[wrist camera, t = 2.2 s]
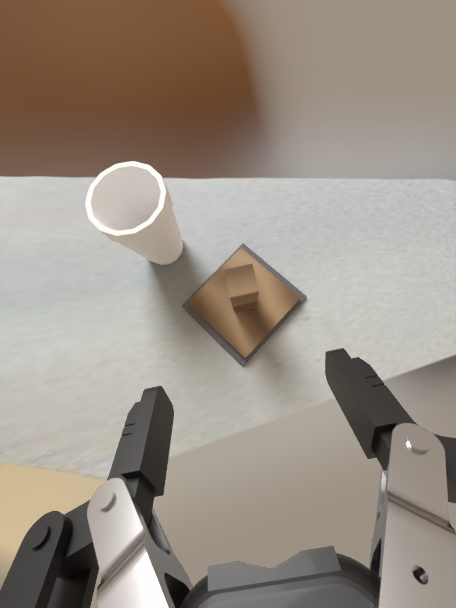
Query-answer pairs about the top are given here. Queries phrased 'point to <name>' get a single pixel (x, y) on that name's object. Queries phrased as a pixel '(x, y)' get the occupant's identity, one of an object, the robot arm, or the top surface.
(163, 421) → the robot arm
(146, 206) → the foam cup
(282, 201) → the top surface
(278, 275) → the mat
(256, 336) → the lid
